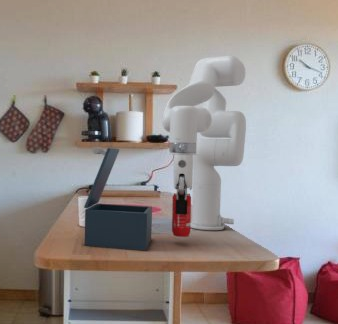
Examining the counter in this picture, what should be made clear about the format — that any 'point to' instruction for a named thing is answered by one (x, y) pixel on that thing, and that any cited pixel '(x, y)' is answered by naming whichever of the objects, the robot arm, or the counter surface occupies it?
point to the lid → (101, 174)
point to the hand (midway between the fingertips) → (181, 211)
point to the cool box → (118, 226)
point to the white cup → (83, 209)
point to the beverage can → (181, 219)
